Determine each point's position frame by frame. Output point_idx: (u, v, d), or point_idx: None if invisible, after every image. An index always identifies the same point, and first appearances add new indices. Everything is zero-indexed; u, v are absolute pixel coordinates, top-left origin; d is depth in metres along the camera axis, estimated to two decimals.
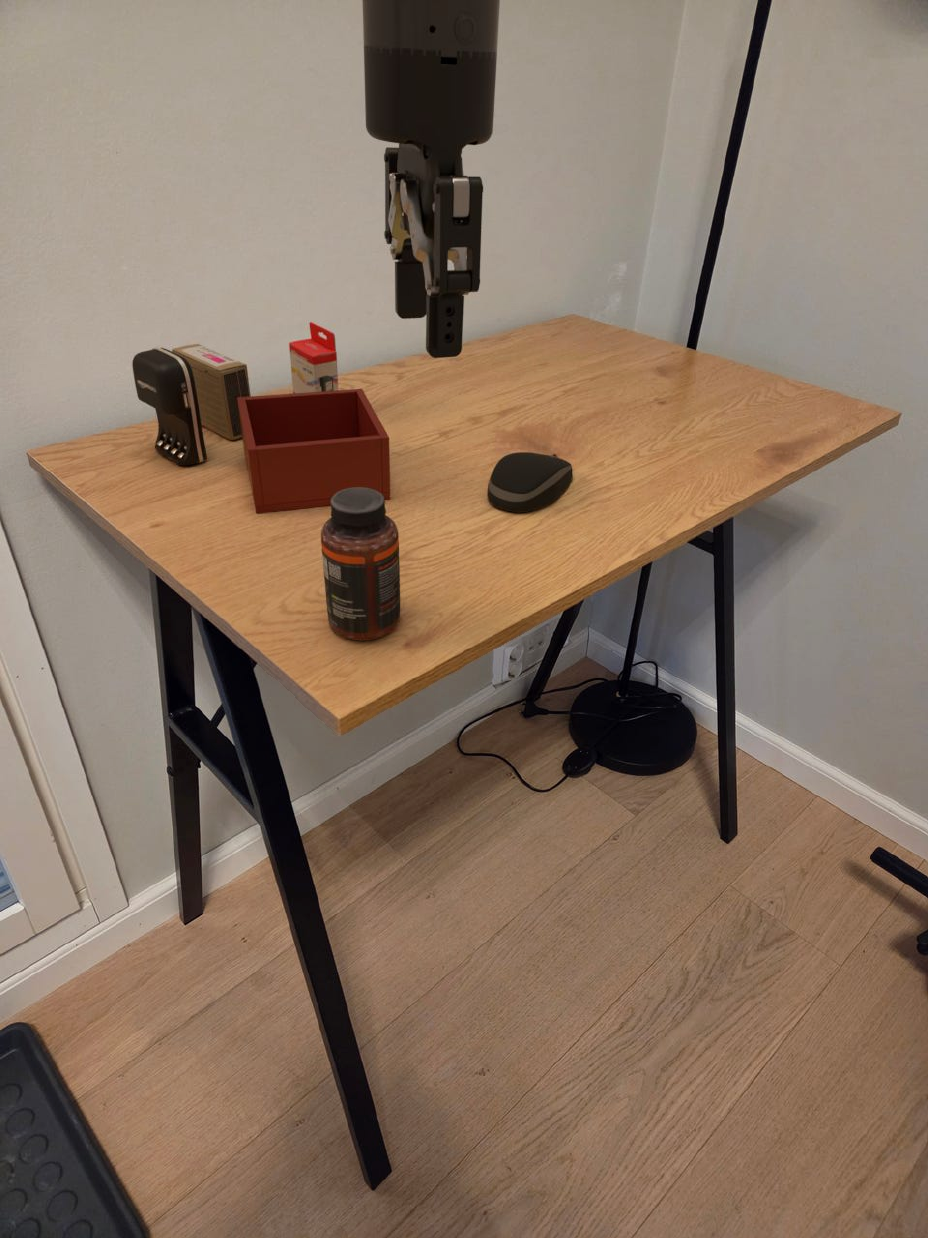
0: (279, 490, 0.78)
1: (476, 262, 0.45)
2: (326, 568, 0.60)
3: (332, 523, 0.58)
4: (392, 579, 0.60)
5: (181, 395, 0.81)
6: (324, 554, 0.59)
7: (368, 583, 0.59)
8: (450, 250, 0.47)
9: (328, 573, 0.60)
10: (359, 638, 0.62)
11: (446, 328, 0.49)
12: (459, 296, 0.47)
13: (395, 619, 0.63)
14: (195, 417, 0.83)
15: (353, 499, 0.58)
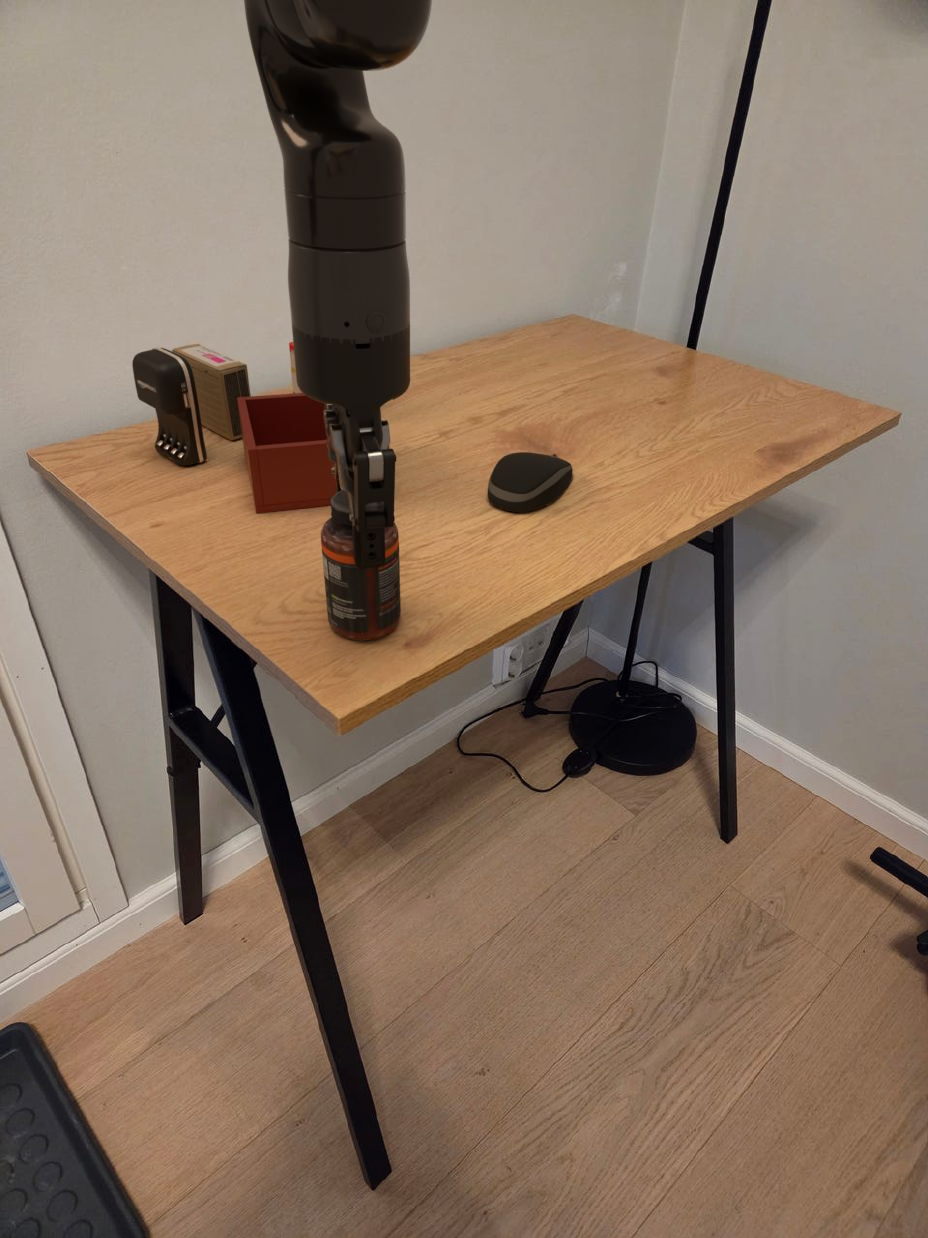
0: (279, 490, 0.78)
1: (390, 510, 0.52)
2: (326, 568, 0.60)
3: (332, 523, 0.58)
4: (392, 579, 0.60)
5: (181, 395, 0.81)
6: (324, 554, 0.59)
7: (368, 584, 0.59)
8: None
9: (328, 573, 0.60)
10: (359, 638, 0.62)
11: (369, 549, 0.56)
12: None
13: (395, 619, 0.63)
14: (195, 417, 0.83)
15: None
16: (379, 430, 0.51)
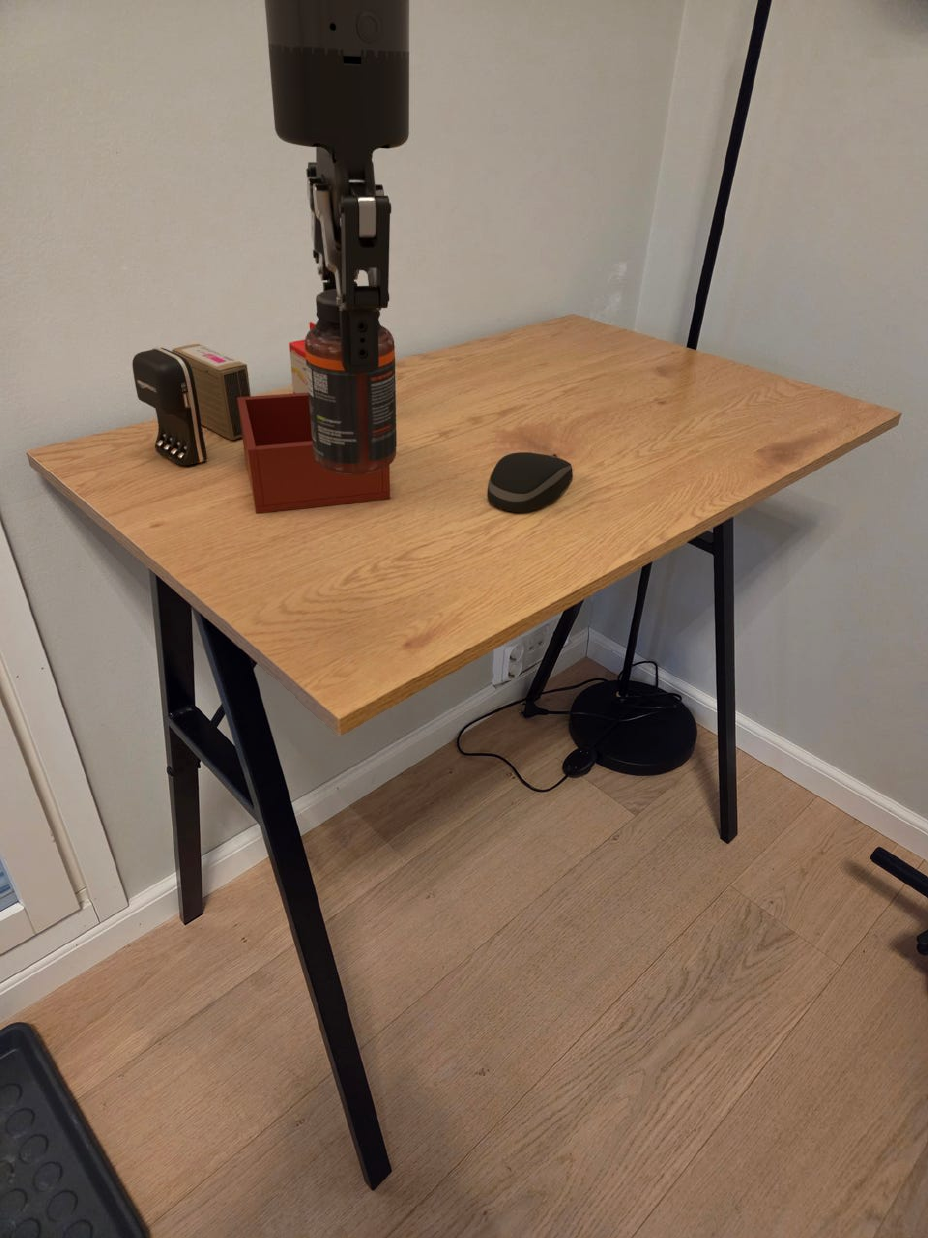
0: (279, 490, 0.78)
1: (384, 281, 0.44)
2: (311, 381, 0.52)
3: (318, 325, 0.50)
4: (387, 398, 0.52)
5: (181, 395, 0.81)
6: (308, 363, 0.51)
7: (359, 398, 0.51)
8: None
9: (313, 388, 0.52)
10: (349, 470, 0.54)
11: (359, 344, 0.48)
12: (371, 312, 0.47)
13: (390, 452, 0.55)
14: (195, 417, 0.83)
15: None
16: (371, 181, 0.43)
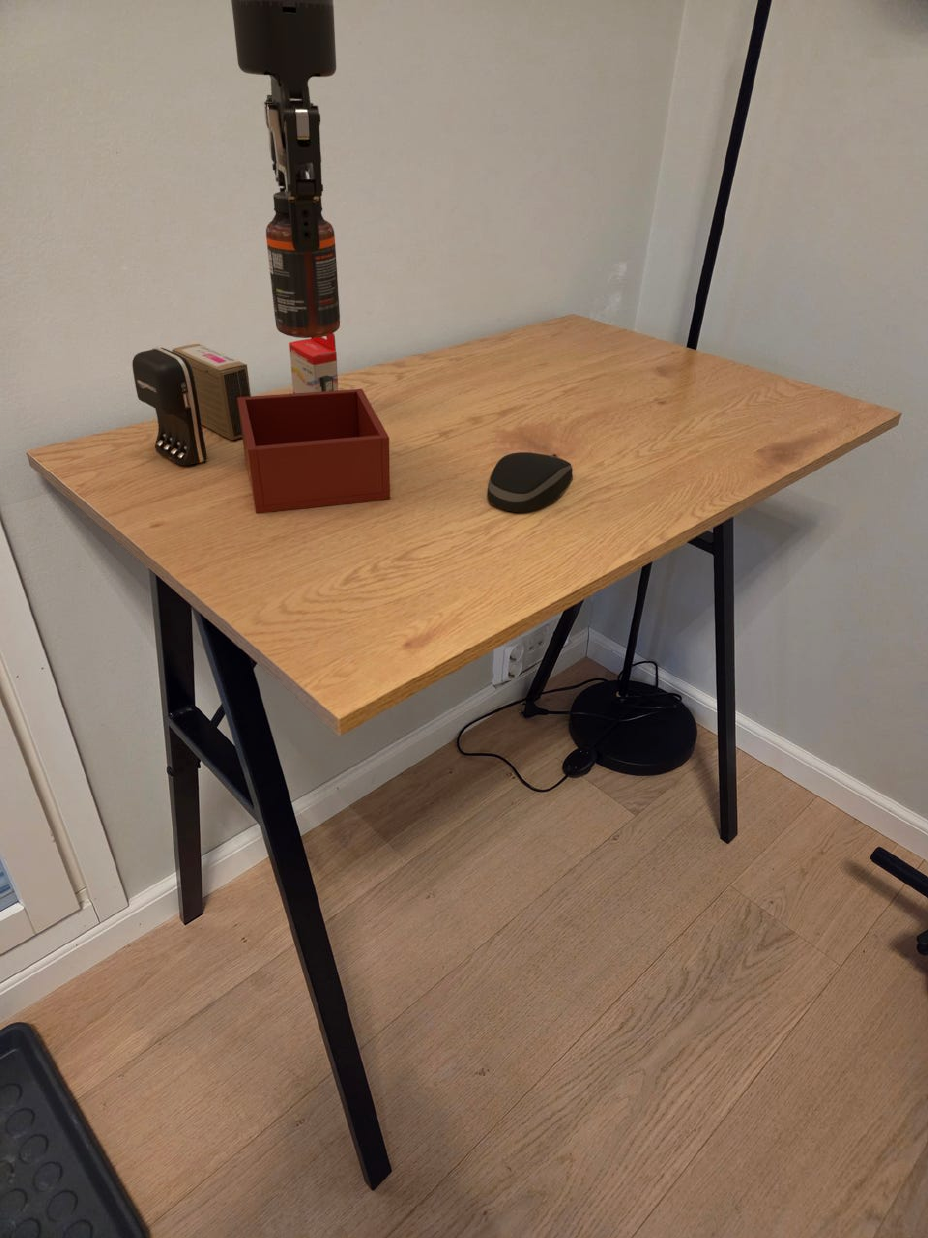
0: (279, 490, 0.78)
1: (317, 174, 0.61)
2: (271, 261, 0.68)
3: (275, 217, 0.67)
4: (329, 275, 0.69)
5: (181, 395, 0.81)
6: (269, 247, 0.68)
7: (306, 273, 0.68)
8: (304, 165, 0.63)
9: (272, 266, 0.68)
10: (301, 333, 0.71)
11: (303, 226, 0.64)
12: (311, 201, 0.63)
13: (334, 320, 0.72)
14: (195, 417, 0.83)
15: None
16: (307, 99, 0.60)
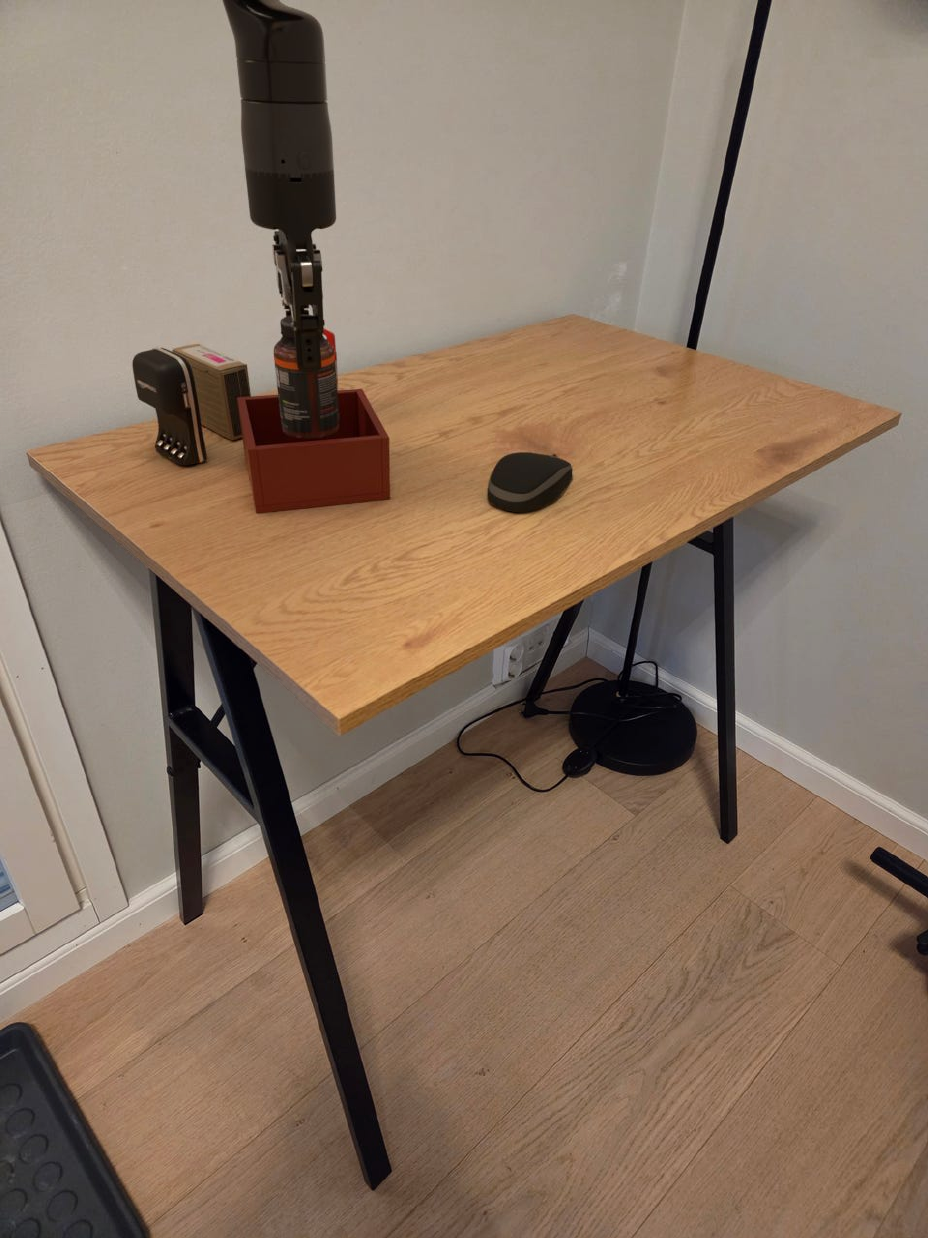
0: (279, 490, 0.78)
1: (320, 313, 0.69)
2: (278, 377, 0.77)
3: (281, 339, 0.76)
4: (330, 388, 0.78)
5: (181, 395, 0.81)
6: (276, 365, 0.76)
7: (310, 388, 0.76)
8: None
9: (279, 381, 0.77)
10: (305, 438, 0.79)
11: (307, 352, 0.73)
12: (314, 332, 0.72)
13: (334, 425, 0.80)
14: (195, 417, 0.83)
15: None
16: (311, 250, 0.68)
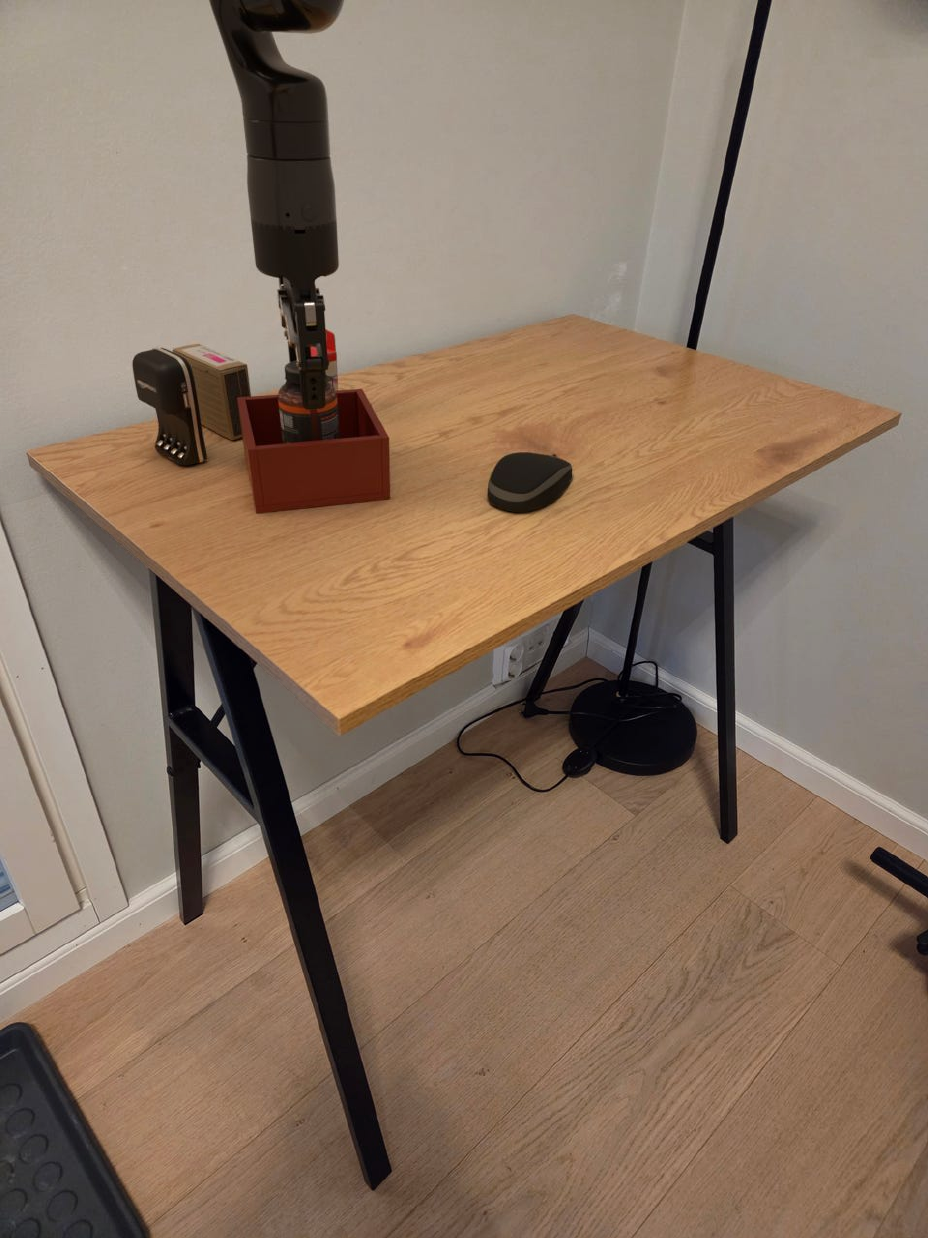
0: (279, 490, 0.78)
1: (324, 352, 0.71)
2: (282, 420, 0.80)
3: (286, 384, 0.78)
4: (332, 430, 0.80)
5: (181, 395, 0.81)
6: (280, 409, 0.79)
7: (313, 431, 0.79)
8: None
9: (283, 424, 0.80)
10: None
11: (312, 391, 0.74)
12: (318, 371, 0.73)
13: None
14: (195, 417, 0.83)
15: None
16: (314, 297, 0.71)
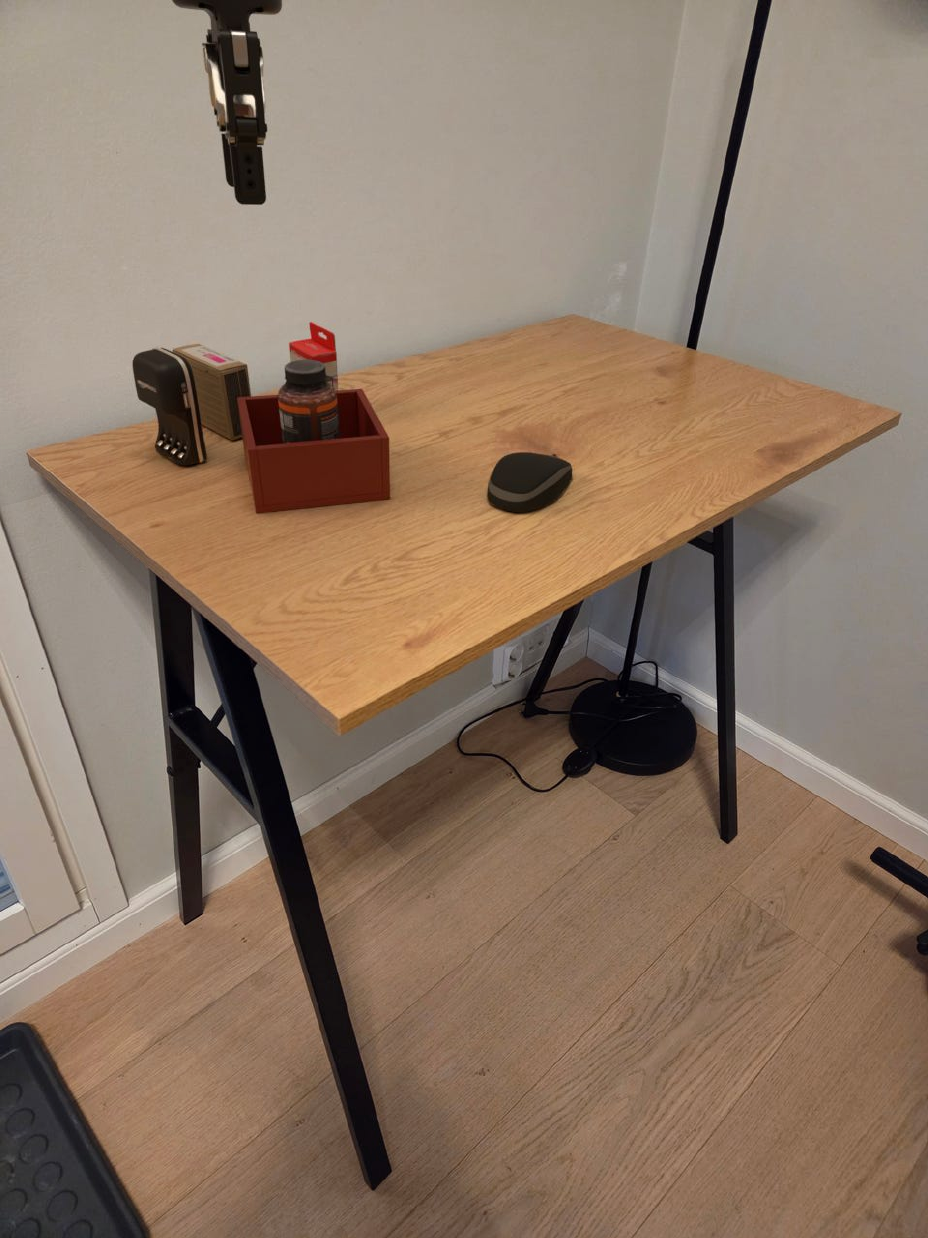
0: (279, 490, 0.78)
1: (260, 108, 0.53)
2: (282, 420, 0.80)
3: (286, 384, 0.78)
4: (332, 430, 0.80)
5: (181, 395, 0.81)
6: (280, 409, 0.79)
7: (313, 431, 0.79)
8: (246, 104, 0.55)
9: (283, 424, 0.80)
10: None
11: (247, 174, 0.57)
12: (254, 144, 0.56)
13: None
14: (195, 417, 0.83)
15: (301, 365, 0.78)
16: None
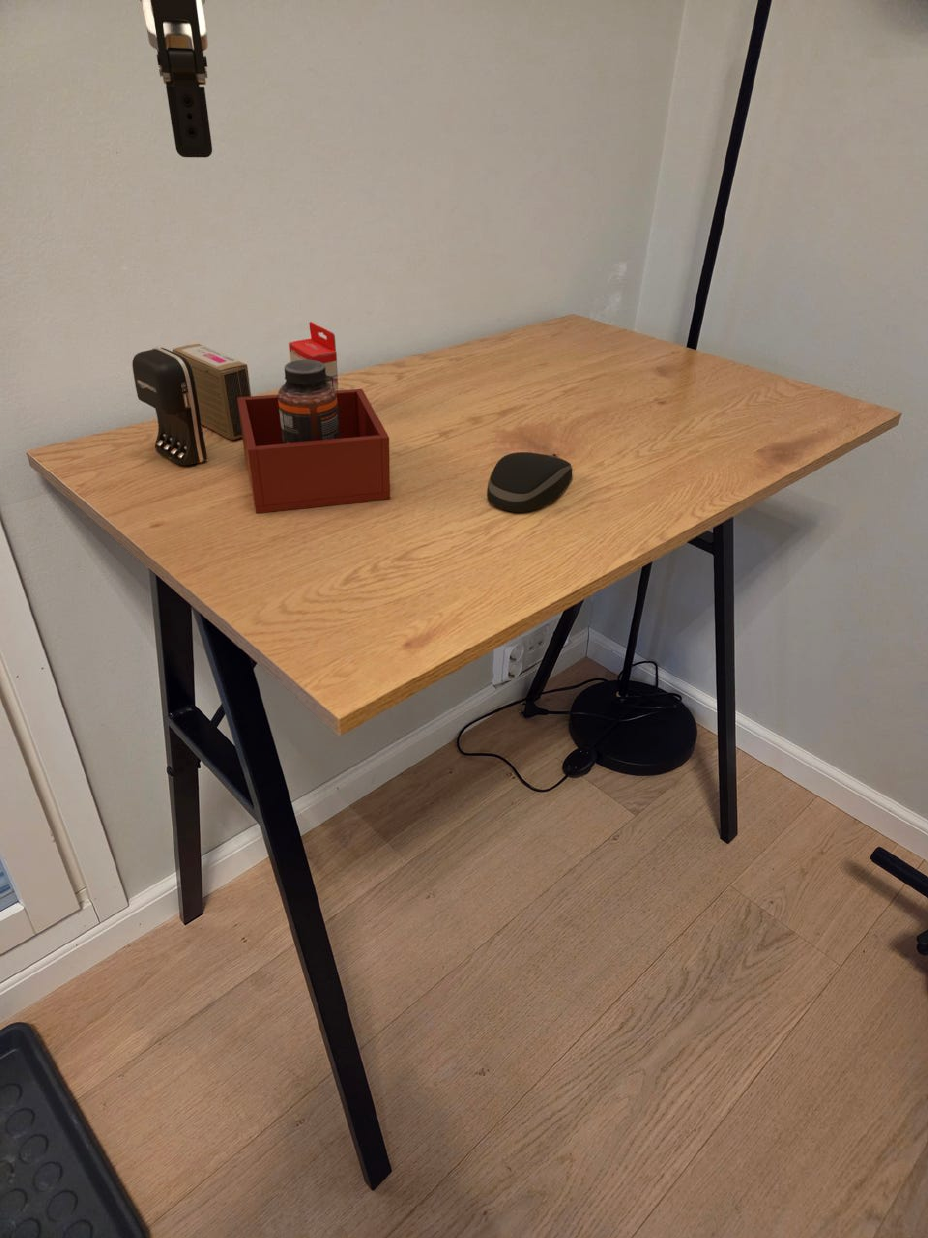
0: (279, 490, 0.78)
1: (196, 36, 0.45)
2: (282, 420, 0.80)
3: (286, 384, 0.78)
4: (332, 430, 0.80)
5: (181, 395, 0.81)
6: (280, 409, 0.79)
7: (313, 431, 0.79)
8: (182, 35, 0.47)
9: (283, 424, 0.80)
10: None
11: (187, 120, 0.48)
12: (194, 83, 0.47)
13: None
14: (195, 417, 0.83)
15: (301, 365, 0.78)
16: None
